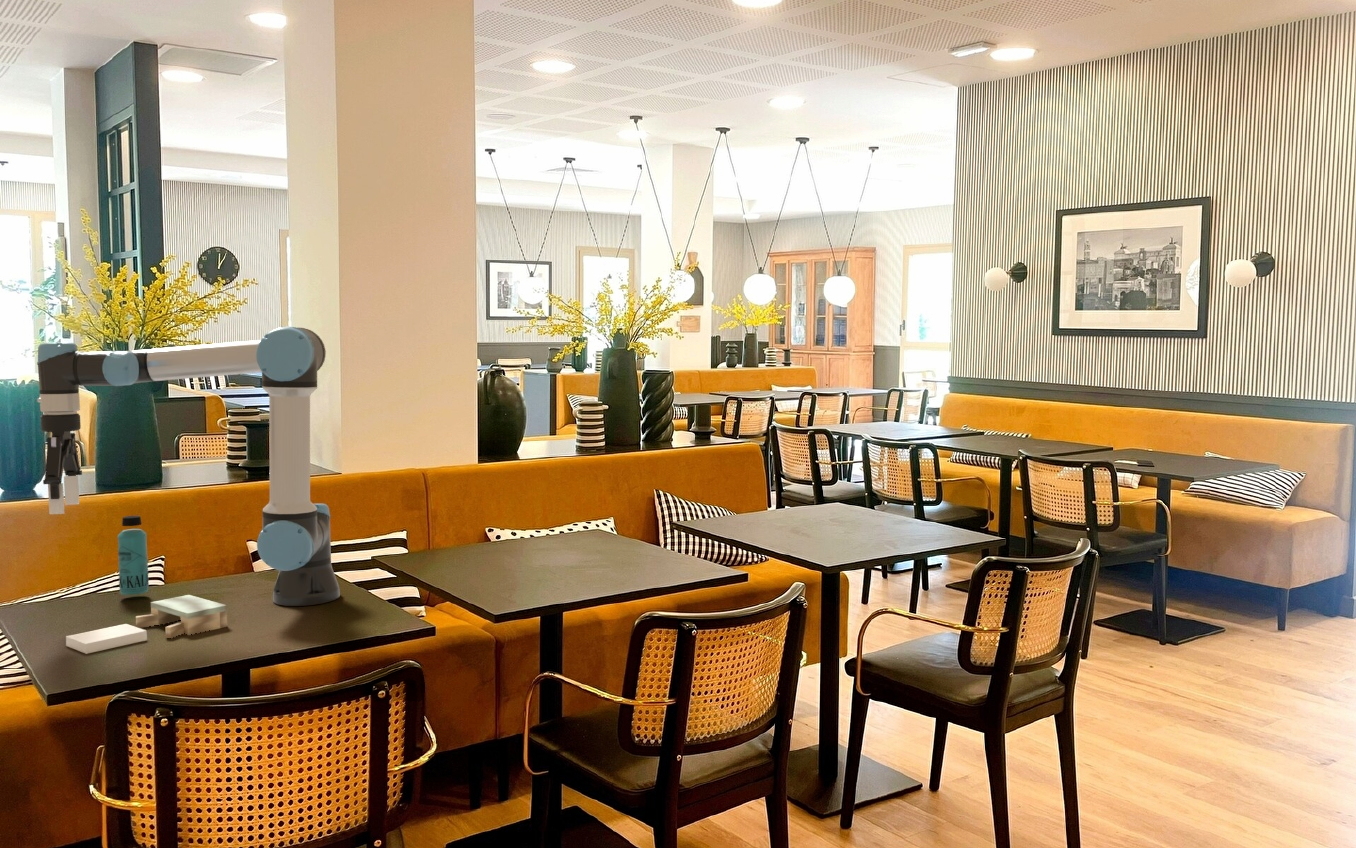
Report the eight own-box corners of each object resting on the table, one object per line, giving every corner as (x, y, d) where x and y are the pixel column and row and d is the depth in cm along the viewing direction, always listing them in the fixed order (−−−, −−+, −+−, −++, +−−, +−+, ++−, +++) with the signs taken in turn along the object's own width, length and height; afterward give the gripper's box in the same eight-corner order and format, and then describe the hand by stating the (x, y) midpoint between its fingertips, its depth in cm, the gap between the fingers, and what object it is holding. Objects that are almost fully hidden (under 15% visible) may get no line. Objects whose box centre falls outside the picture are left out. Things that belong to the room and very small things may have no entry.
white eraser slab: (86, 653, 211) (85, 644, 210) (66, 646, 216) (65, 636, 216) (147, 640, 220) (146, 630, 220) (126, 633, 226) (126, 623, 225)
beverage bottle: (126, 595, 259) (122, 514, 258) (154, 594, 260) (150, 513, 258) (114, 601, 253) (110, 518, 251) (143, 601, 253) (139, 518, 252)
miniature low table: (169, 639, 220) (168, 617, 220) (133, 627, 230) (132, 605, 230) (227, 626, 230) (226, 605, 230) (189, 615, 240) (188, 594, 240)
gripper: (55, 409, 243) (59, 501, 245) (24, 417, 219) (29, 519, 221) (92, 409, 245) (96, 500, 247) (65, 416, 222) (70, 517, 223)
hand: (64, 509), depth 234 cm, fingers open, 13 cm apart
